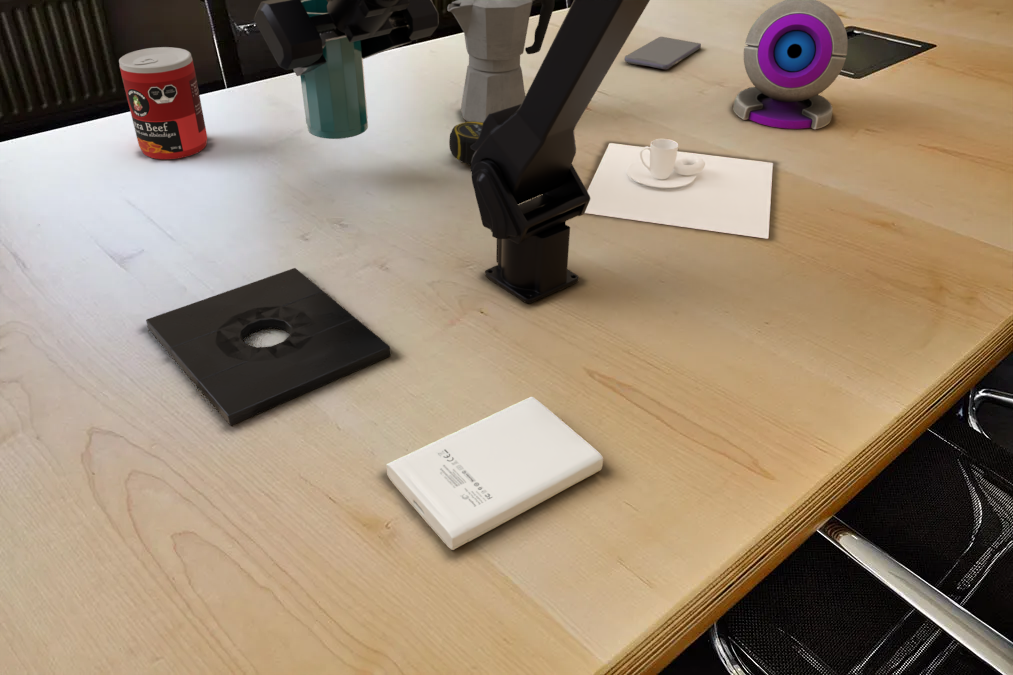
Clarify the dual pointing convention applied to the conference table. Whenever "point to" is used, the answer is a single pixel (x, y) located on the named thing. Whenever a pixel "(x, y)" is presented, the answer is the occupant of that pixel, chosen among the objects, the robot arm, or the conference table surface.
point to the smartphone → (662, 52)
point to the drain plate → (265, 370)
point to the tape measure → (464, 140)
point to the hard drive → (493, 470)
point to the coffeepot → (496, 51)
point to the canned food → (164, 102)
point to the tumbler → (335, 87)
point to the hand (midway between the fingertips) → (324, 64)
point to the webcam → (792, 65)
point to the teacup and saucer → (683, 189)
